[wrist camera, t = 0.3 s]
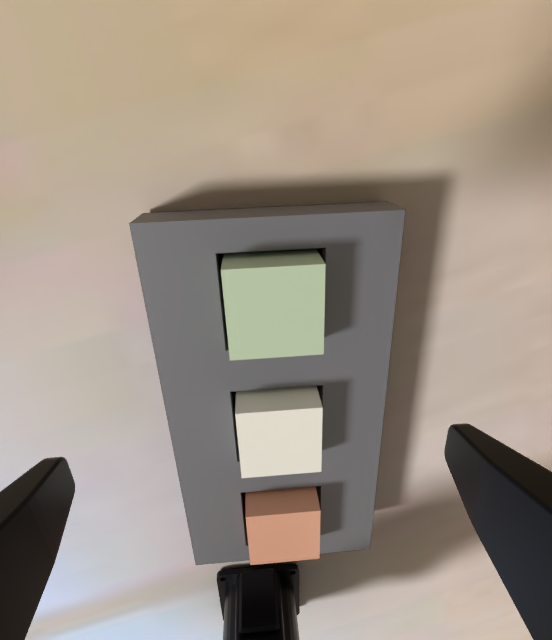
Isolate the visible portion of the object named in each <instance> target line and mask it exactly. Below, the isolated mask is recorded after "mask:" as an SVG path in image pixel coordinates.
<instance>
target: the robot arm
mask: <svg viewBox="0 0 552 640" xmlns="http://www.w3.org/2000/svg"><path fill="white" fill-rule="evenodd" d="M445 459H446V462H447V465H448V467H449V469H450V472H451V474H452V477H453V479H454V482H455V484H456V487H457V489H458V491H459V494H460V496H461V499H462V501H463V504H464V506H465V509H466V511H467V513H468V516H469V518H470V520H471V522H472V524H473V526H474V528H475V530H476V532H477V534H478V536H479V538H480V540H481V542H482V544H483V546H484V547H485V549H486V551H487V553H488V555H489V557H490V559H491V561H492V563H493V564H494V566H495V568H496V570H497V572H498V574H499V576H500V578H501V579H502V581H503V583H504V585H505V587H506V589H507V591H508V593H509V595H510V596H511V598H512V600H513V602H514V604H515V606H516V608H517V610H518V611H519V613H520V615H521V617H522V619H523V621H524V623H525V625H526V626H527V628H528V630H529V632H530V634H531V636H532V638H533V640H552V472H551V471H549V470H548V469H546V468H544V467H542V466H541V465H539V464H537V463H536V462H534V461H532V460H530V459H529V458H527V457H525V456H523V455H522V454H520V453H518V452H517V451H515V450H513V449H511V448H510V447H508V446H506V445H505V444H503V443H501V442H499V441H498V440H496V439H494V438H492V437H491V436H489V435H487V434H486V433H484V432H482V431H480V430H479V429H477V428H475V427H474V426H472V425H470V424H453V425H451V426H450V427H449V430H448V435H447V440H446V445H445ZM74 493H75V483H74V479H73V477H72V474H71V471H70V468H69V465H68V463H67V460H66V459H65V458H63V457H54V458H46V459H43V460H42V461H40V462H39V463H38V464H36V465H35V466H34V467H33V468H31V469H30V470H29V471H27V472H26V473H25V474H23V475H22V476H21V477H19V478H18V479H17V480H15V481H14V482H13V483H11V484H10V485H9V486H7V487H6V488H5V489H3V490H2V491H1V492H0V640H25V637H26V635H27V632H28V629H29V627H30V624H31V622H32V619H33V617H34V614H35V612H36V609H37V607H38V604H39V601H40V599H41V596H42V594H43V591H44V589H45V586H46V584H47V581H48V579H49V576H50V573H51V571H52V568H53V565H54V563H55V559H56V556H57V553H58V550H59V546H60V543H61V539H62V536H63V532H64V529H65V525H66V521H67V518H68V514H69V511H70V507H71V504H72V500H73V497H74ZM217 584H218V591H219V597H220V603H221V609H222V615H223V620H224V631H223V640H299V632H298V623H297V615H298V614H299V569H298V565H296V564H284V565H273V566H262V567H251V568H241V569H230V570H221V571H219V572H218V573H217Z"/></svg>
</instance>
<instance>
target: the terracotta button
mask: <svg viewBox="0 0 552 640" xmlns="http://www.w3.org/2000/svg"><path fill="white" fill-rule="evenodd" d="M320 514H321V510H320V505H319V500H318V495H317V490H316V486H313V487H301V488H289V489H277V490H265V491H253V492H246V527H247V537H248V547H249V557H250V565H256V564H267V563H278V562H289V561H300V560H310V559H320Z"/></svg>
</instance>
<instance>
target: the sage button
mask: <svg viewBox="0 0 552 640" xmlns="http://www.w3.org/2000/svg"><path fill="white" fill-rule="evenodd" d="M325 268H326V264H325V262H324V261H323V259H322V258H321V256H320V254H319V253H318V251H317V250H316V249H300V250H282V251H263V252H244V253H225V254H224V255H223V261H222V266H221V277H222V287H223V297H224V307H225V317H226V327H227V337H228V347H229V357H230V361H232V360H247V359H262V358H277V357H292V356H307V355H322V354H324V317H325Z"/></svg>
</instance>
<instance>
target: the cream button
mask: <svg viewBox="0 0 552 640" xmlns="http://www.w3.org/2000/svg"><path fill="white" fill-rule="evenodd" d="M322 416H323V407H322V404H321V400H320V396H319V393H318V389H317V386H303V387H289V388H275V389H261V390H246V391H236V406H235V417H236V427H237V437H238V447H239V457H240V467H241V477H242V478H252V477H264V476H276V475H288V474H300V473H313V472H321V465H322Z"/></svg>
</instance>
